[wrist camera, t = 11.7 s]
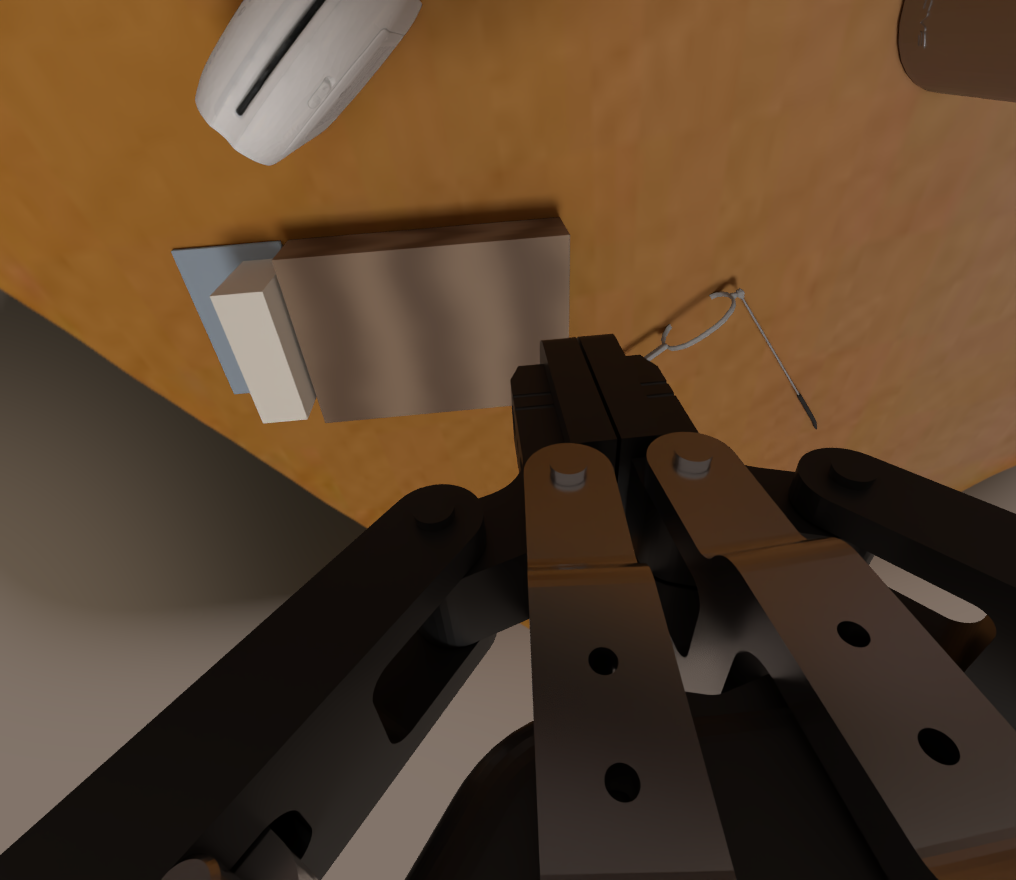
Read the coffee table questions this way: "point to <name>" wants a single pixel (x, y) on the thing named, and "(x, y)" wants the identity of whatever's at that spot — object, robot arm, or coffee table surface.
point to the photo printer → (295, 68)
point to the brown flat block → (425, 313)
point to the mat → (205, 276)
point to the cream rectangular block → (264, 342)
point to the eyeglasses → (732, 296)
